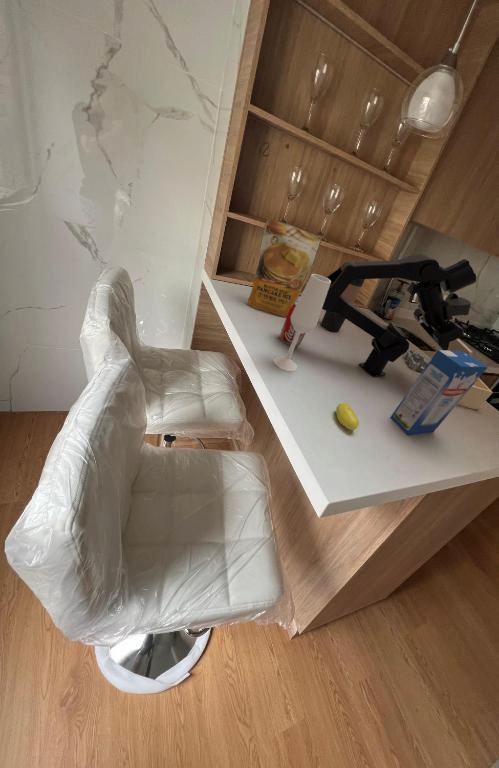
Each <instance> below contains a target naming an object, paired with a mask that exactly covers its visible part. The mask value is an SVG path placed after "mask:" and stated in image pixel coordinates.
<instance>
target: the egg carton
mask: <svg viewBox="0 0 499 768" xmlns="http://www.w3.org/2000/svg"><path fill="white" fill-rule="evenodd" d="M403 359H405V363H406V364H407V368H410V369H411V370H412V371H415V372H416V371H418V372H420V374H421V373H422V372H423V370H424V369H425V367H426V366H427V365H428V363H429V362H430V361H428V360H427V359H425V356H424V355H423V354H422V355H420V352H417V351H415V350H412V349H410V348H409V349H408V351H407V352H406V353H405V354H403ZM418 363H419V364H418Z"/></svg>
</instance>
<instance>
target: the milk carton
mask: <svg viewBox="0 0 499 768" xmlns="http://www.w3.org/2000/svg"><path fill="white" fill-rule="evenodd" d="M428 362H429V363H428V365H427V366H426V367H425V369H424V370H423V372H422V373H421V372H420V375H419V376H418V378H417V379H416V380H415V381H414V383H413V385H412V386H411V387H410V389H409V390H408V391H407V393H406V394H405V395H404V397H403V399H402V400H401V401H400V403H399V404H398V406H397V407H396V408H395V410H394V412H392V414H391V416H390V419H391V420H392V421H393V422H394V423H395V424H396V425H397V426H398V427H399V428H400V429H401V430H402V431H403V433H405V434H406V435H407V436H413V435H420V434H421V435H422V434H431V433H434V432H435V431H436V430H437V429H438V427H439V426H440V425H441V424H442V423H443V421H445V419H446V418H447V416H448V415H449V414H450V413H451V412H452V411H453V409H454V408H456V406H457V403H458V402H459V401H460V400H461V399H462V398H463V396H464V395H465V394H466V393H467V392H468V390H469V389H470V388H471V387H472V386H473V384H474V383H475V382H476V381H477V380H478V378H479V379H480V377H481V376H482V375H483V374H484V373H485V371H486V370H487V369H489V368H488V367H489V366H487V365H485V364H483V363H482V362H480V361H479V360H478V359H476V358H474V356H470V355H469V354H467V353H466V352H463V351H449V350H443V349H437V351H436V352H435V354H434V355H433V356H432V358H431V359H430V360H429V361H428Z"/></svg>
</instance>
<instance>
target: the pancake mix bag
mask: <svg viewBox="0 0 499 768" xmlns="http://www.w3.org/2000/svg"><path fill="white" fill-rule="evenodd" d="M265 221H266V222H265V225H264V229H263V233H262V236H261V237H262V238H261V239H262V240H261V245H260V248H259V253H258V259H257V263H256V264H257V265H256V270H255V275H254V277H253V280H252V281H253V282H252V288H251V292H250V294H249V297H248V298H247V301H246V302H245V304H246V305H248V306H250V307H251V308H252V309H256V310H258V311H261V312H264V313H268V314H271V315H274V316H277V317H281V318H286V317H287V314H288V312H289V310H290V307H291V306H292V305H293V304H294V303H295V301H298V300H299V299H298V298H299V297H300V294H301V293H302V289H304V286H305V283H306V282H307V280H308V277H309V275H310V273H311V272H312V269H313V265H314V263H315V260H316V256H317V254H318V252H319V250H320V247H321V243H322V239H320V238H319V237H320V235H319V234H316V233H313V232H310V231H307V230H303V229H301V228H299V227H296V226H294V225H291V224H288V223H285V222H284V221H283V222H282V221H278V220H275V219H267V220H265Z"/></svg>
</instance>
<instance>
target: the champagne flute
mask: <svg viewBox="0 0 499 768" xmlns="http://www.w3.org/2000/svg"><path fill="white" fill-rule="evenodd" d="M326 277H327V276H324V275H321V274H316V273H312V274H311V275H310V277H309V278H308V281H307V283H306V285H305V287H304V288H303V291H302V292H301V295H300V296H299V299H298V300H297V301H298V303H297V305H296V307H295V309H294V311H293V313H292V315H291V323H292V326H293V328H294V330H295V331H296V334H295V336H294V339H293V341H292V344H291V345H289V348H288V351H287V354H286V356H277V357H275V358H274V359H273V363H274V364H275V366H276V367H278V368H279V369H281V370H284V371H287V372H294V371H296V370H297V369H298V366H297V364H296V363H295V362H294V361H293V360H292V359H291V357H292V355H293V352H294V350H295V349H296V348H295V347H296V346H297V345H296V343H297V341H298V339H299V336H300V334H302V333H305V334H306V333H308V332H311V331H312V330H314V329H315V328H316V327H317V324H318V322H319V318H320V316H321V313H322V310H323V309H322V307H323V304H324V301H325V298H326V295H327V292H328V289H329V286H330V283H331V281H330V280H329V279H328V278H326Z"/></svg>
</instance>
